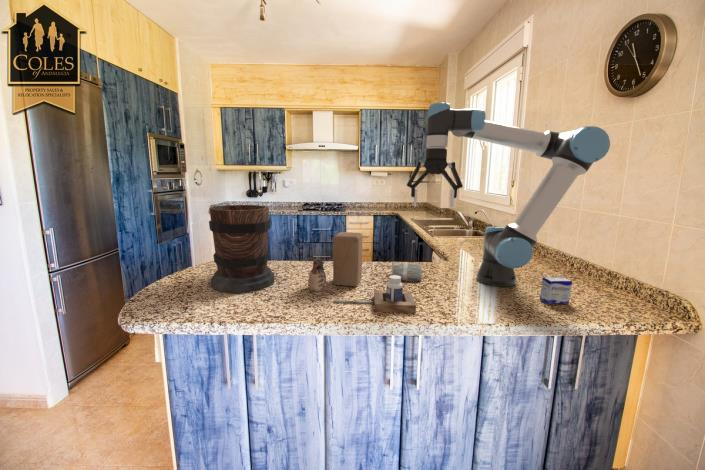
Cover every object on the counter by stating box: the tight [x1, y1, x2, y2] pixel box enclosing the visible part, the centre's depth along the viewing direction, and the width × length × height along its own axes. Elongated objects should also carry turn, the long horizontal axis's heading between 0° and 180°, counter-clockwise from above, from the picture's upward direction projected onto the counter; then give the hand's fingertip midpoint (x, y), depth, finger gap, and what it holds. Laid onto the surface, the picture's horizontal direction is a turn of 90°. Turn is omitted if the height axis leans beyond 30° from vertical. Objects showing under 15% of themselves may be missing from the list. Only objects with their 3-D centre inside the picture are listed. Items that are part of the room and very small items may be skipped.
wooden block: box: [332, 231, 363, 288], centre depth 130 cm, size 10×10×20 cm
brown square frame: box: [333, 289, 417, 314], centre depth 111 cm, size 27×13×2 cm, turn 87°
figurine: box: [307, 257, 328, 293], centre depth 123 cm, size 7×7×12 cm
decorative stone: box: [391, 262, 423, 282], centre depth 139 cm, size 13×10×6 cm
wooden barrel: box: [208, 204, 275, 294], centre depth 130 cm, size 24×30×30 cm
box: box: [539, 276, 573, 305], centre depth 114 cm, size 8×4×9 cm, turn 94°
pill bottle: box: [385, 274, 404, 302], centre depth 110 cm, size 5×5×10 cm
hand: (433, 206), depth 123 cm, fingers open, 13 cm apart
